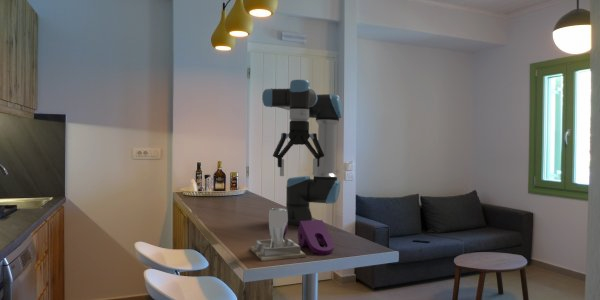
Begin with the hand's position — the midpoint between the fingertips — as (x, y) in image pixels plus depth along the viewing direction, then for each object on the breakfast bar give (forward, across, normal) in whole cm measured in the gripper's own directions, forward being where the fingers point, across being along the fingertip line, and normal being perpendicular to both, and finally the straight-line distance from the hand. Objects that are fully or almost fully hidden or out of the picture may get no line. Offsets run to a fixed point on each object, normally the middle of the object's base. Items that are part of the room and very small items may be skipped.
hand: (298, 175), depth 157 cm
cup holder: (+27, -10, -7) cm, 30 cm away
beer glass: (+26, -10, -7) cm, 29 cm away
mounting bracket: (+28, +6, -5) cm, 29 cm away
